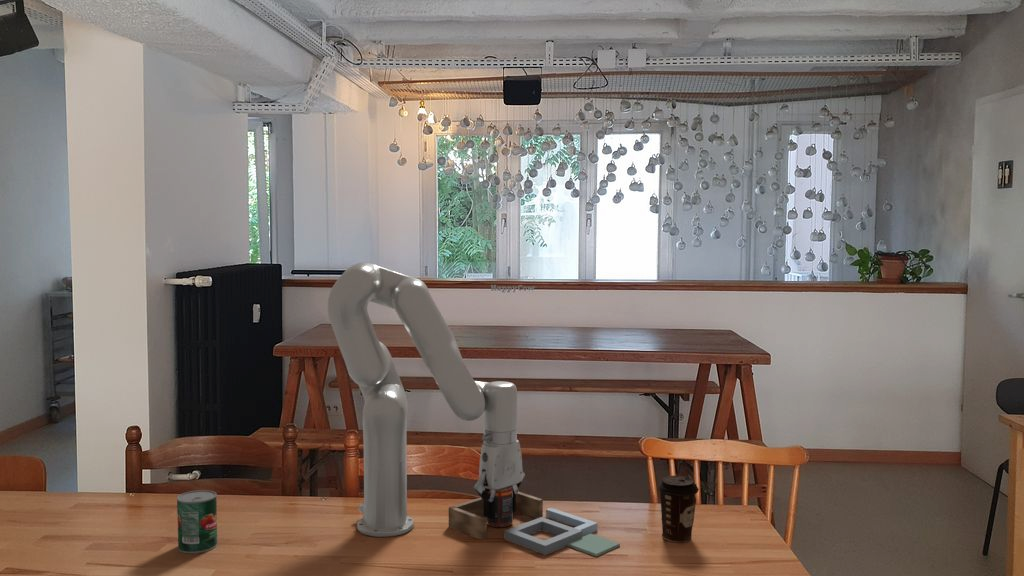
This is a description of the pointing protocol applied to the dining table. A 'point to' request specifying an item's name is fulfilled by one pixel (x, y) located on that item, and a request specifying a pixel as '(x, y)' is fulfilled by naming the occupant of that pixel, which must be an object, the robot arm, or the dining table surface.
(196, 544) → the canned tomato
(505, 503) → the supplement bottle
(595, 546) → the pad
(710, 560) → the dining table surface
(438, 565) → the dining table surface
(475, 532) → the cubby
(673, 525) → the coffee cup
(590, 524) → the crook tool
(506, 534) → the hole board
